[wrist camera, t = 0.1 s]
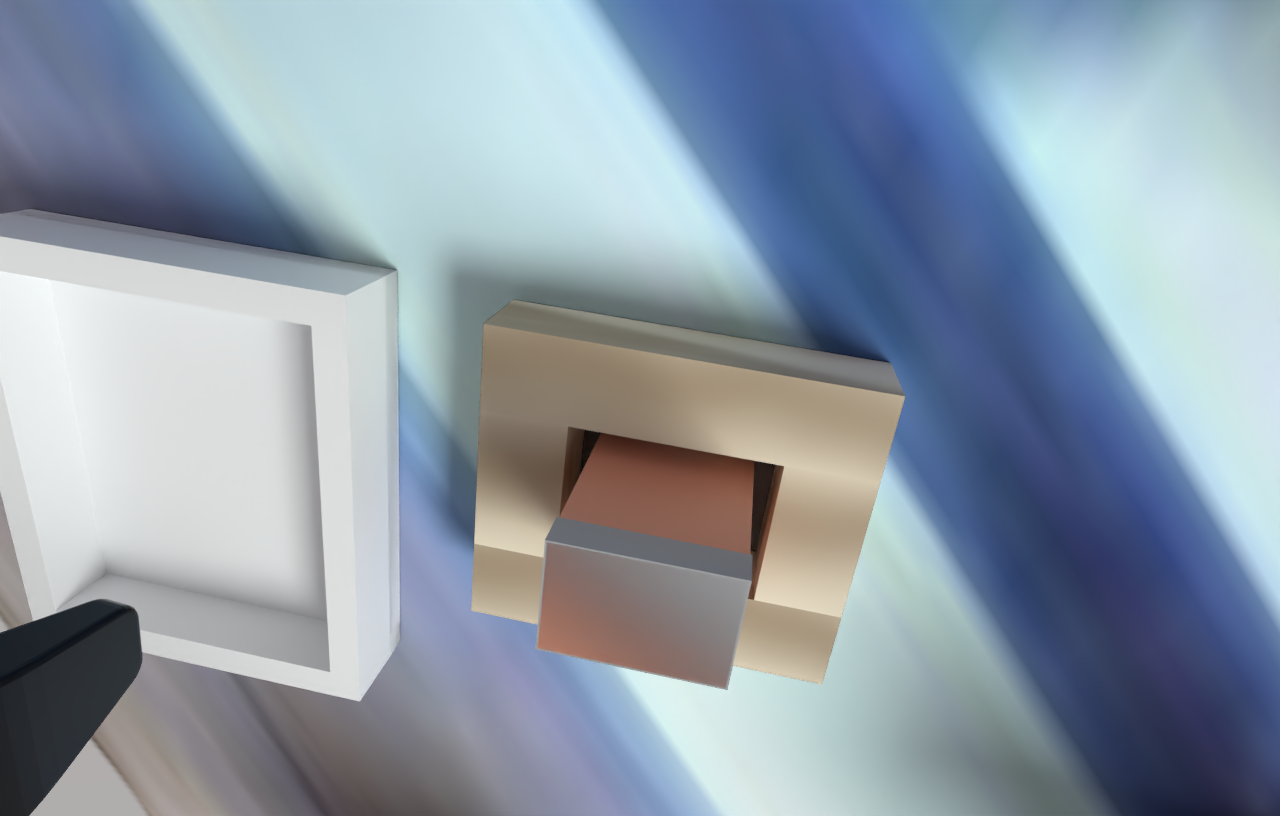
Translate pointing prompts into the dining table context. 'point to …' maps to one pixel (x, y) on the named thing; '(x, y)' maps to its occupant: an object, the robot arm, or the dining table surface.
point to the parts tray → (204, 444)
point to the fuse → (651, 561)
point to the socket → (695, 419)
